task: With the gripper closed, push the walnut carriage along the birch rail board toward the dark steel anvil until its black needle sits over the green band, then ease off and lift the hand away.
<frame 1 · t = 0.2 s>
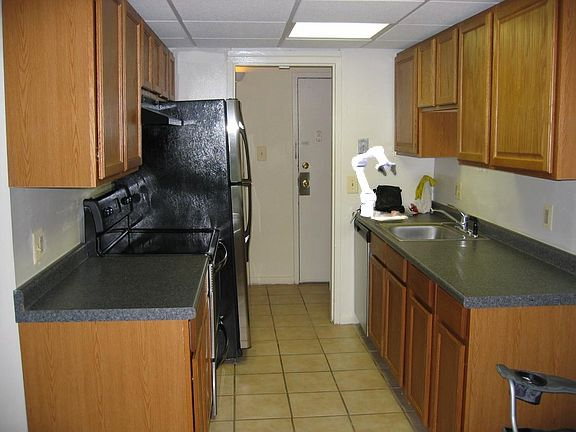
hand: (390, 175, 423), 31 cm above the worktop, tool tilted 45°, fingers open, 7 cm apart
gauge board: (389, 218, 438), on the worktop
carriage: (397, 214, 439), point 3 cm above the worktop, slide at 0.0 cm
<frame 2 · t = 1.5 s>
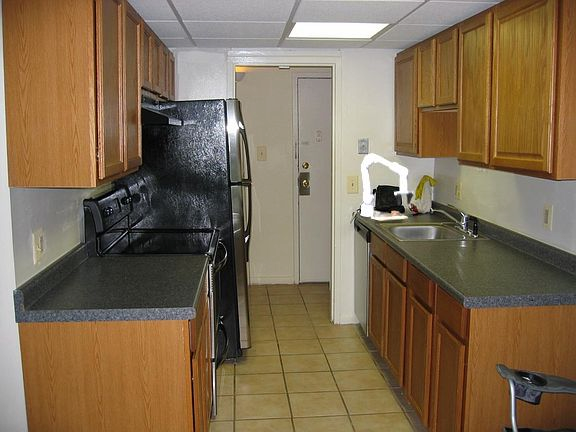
hand: (404, 204, 443), 9 cm above the worktop, tool pointing down, fingers open, 7 cm apart
nothing on the worktop moved.
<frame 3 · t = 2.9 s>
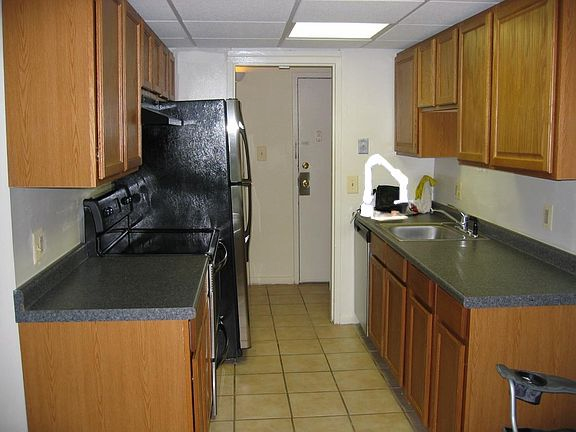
hand: (403, 213, 444), 2 cm above the worktop, tool pointing down, fingers closed
nothing on the worktop moved.
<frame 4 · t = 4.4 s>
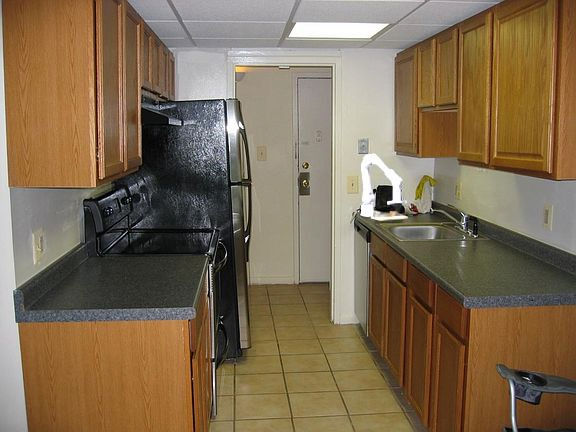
hand: (396, 214, 442), 2 cm above the worktop, tool pointing down, fingers closed
carriage: (395, 214, 439), point 3 cm above the worktop, slide at 1.4 cm, touching gripper
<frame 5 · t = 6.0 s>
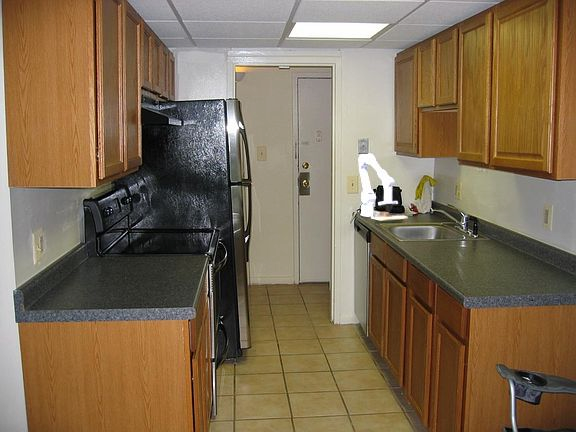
hand: (388, 214, 439), 2 cm above the worktop, tool pointing down, fingers closed
carriage: (386, 214, 436), point 3 cm above the worktop, slide at 8.6 cm, touching gripper
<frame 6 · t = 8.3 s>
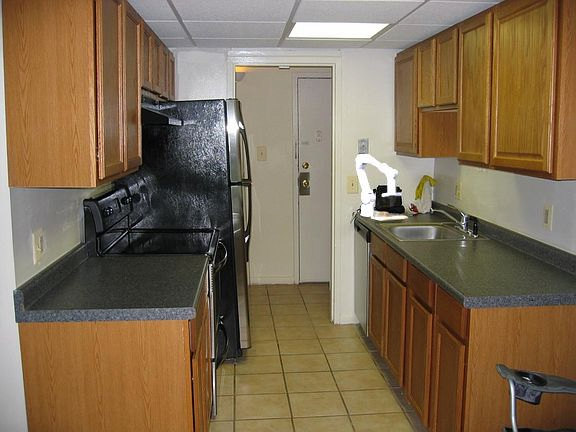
hand: (391, 206, 440), 8 cm above the worktop, tool pointing down, fingers closed
carriage: (386, 214, 436), point 3 cm above the worktop, slide at 8.7 cm
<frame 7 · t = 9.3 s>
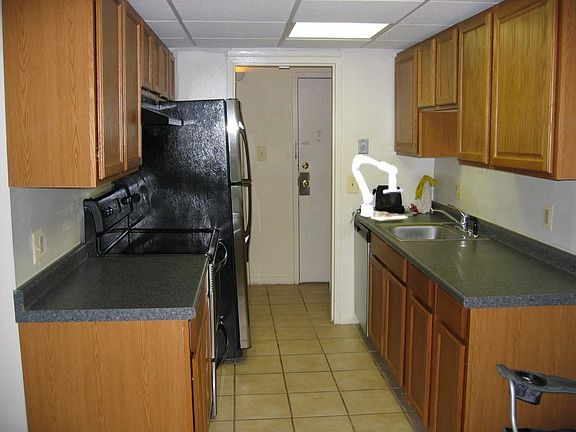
hand: (392, 202, 447), 9 cm above the worktop, tool pointing down, fingers closed
nothing on the worktop moved.
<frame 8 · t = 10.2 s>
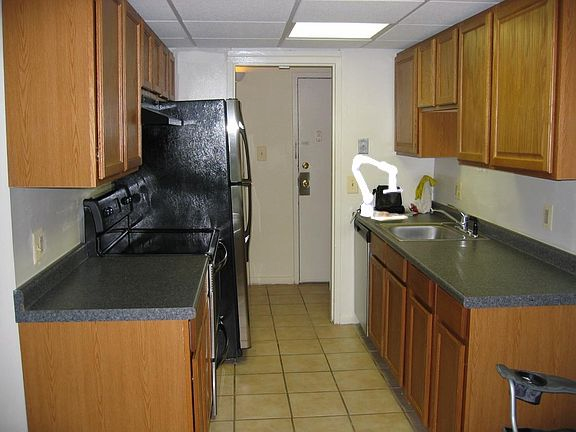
hand: (392, 202, 447), 9 cm above the worktop, tool pointing down, fingers closed
nothing on the worktop moved.
at the end: carriage slide at 8.7 cm; the gripper is holding nothing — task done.
